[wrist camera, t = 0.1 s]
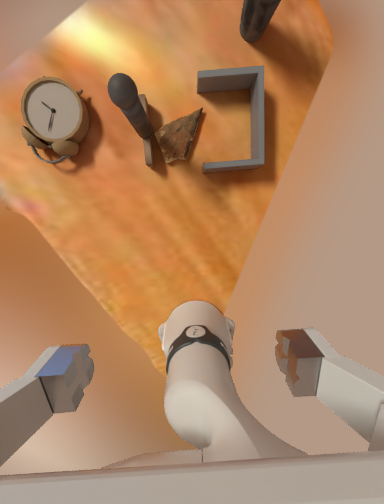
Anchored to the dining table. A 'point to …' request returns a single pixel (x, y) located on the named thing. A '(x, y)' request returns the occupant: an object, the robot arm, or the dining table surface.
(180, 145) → the shard
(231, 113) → the dining table surface
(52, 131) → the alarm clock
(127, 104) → the ball-topped joystick
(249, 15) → the beverage cup
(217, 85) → the box
